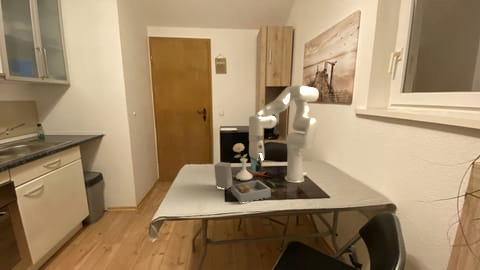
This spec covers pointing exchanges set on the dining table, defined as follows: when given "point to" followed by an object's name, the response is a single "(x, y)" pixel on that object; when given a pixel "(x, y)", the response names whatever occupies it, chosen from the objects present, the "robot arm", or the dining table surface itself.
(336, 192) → the dining table surface
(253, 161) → the mint rounded capsule part
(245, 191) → the walnut cube
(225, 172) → the skincare box
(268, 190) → the tote
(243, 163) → the flower in vase
